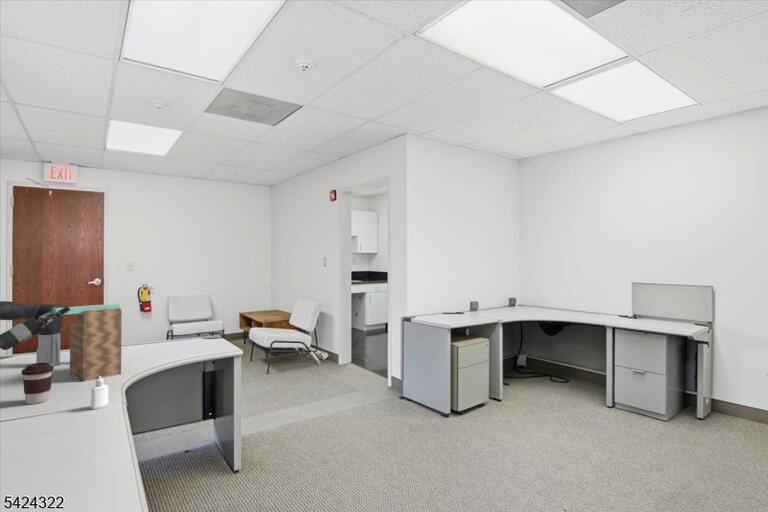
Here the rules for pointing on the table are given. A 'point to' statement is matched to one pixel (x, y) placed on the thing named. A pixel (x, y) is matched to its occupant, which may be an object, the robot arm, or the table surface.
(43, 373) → the coffee cup
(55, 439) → the table surface
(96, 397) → the eye dropper bottle
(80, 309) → the block
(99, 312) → the stand
